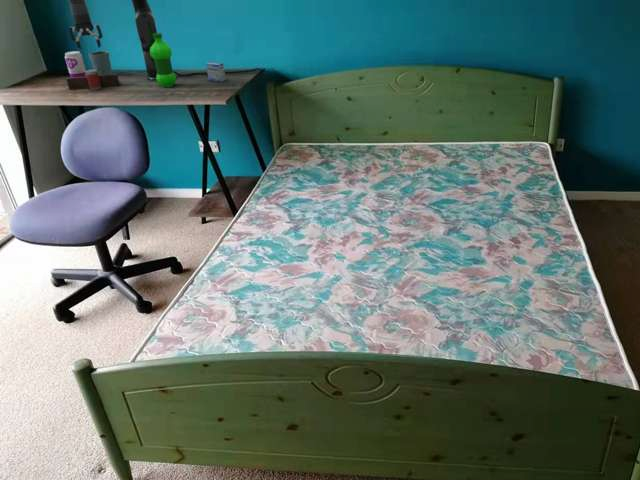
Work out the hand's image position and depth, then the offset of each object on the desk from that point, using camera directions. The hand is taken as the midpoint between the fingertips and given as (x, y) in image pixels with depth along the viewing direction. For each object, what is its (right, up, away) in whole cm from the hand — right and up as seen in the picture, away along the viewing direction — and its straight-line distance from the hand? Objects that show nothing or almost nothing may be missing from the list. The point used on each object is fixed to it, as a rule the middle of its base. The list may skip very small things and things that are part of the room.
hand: (90, 48), depth 296 cm
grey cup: (-7, -3, +31) cm, 32 cm away
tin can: (-1, -18, +8) cm, 19 cm away
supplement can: (-14, -11, +19) cm, 26 cm away
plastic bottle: (+35, -16, +10) cm, 40 cm away
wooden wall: (-3, -15, +12) cm, 19 cm away
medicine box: (+59, -11, +16) cm, 62 cm away
